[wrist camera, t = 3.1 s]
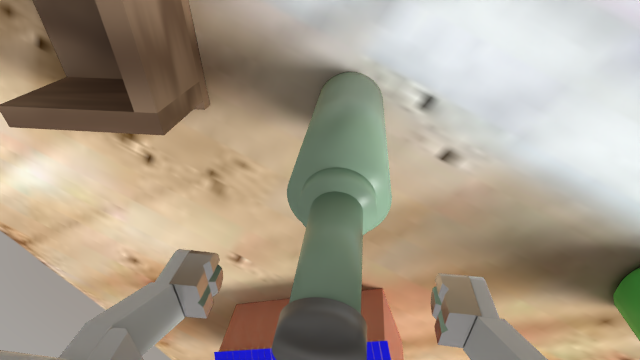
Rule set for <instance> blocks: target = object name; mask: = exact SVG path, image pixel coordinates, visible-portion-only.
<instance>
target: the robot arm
mask: <svg viewBox="0 0 640 360" xmlns="http://www.w3.org/2000/svg"><path fill="white" fill-rule="evenodd" d="M219 261H220V259H219V255H218V254H217V253H210V252H201V251H193V250H183V249H178V250H177V251H176V252H175V253H174V254H173V256H172V257H171V259H170V260H169V262H168V263H167V265H166V266H165V268H164V269H163V271H162V272H161V274H160V275H159V277H158V278H157V280H156V281H155V283H149V284H147V285H146V286H144V287H143V288H141V289H139V290H138V291H136V292H135V293H133V294H131V295H130V296H128V297H127V298H125V299H123V300H122V301H120V302H119V303H117V304H115V305H114V306H112V307H111V308H109V309H107V310H106V311H104V312H103V313H101V314H99V315H98V316H96V317H94V318H93V319H91V320H90V321H88V322H87V323H85V325H84V326H83V327H82V329H81V330H80V331H79V332H78V334H77V335H76V336H75V337H74V339H73V340H72V341H71V343H70V344H69V345H68V346H67V348H66V349H65V350H64V351H63V353H62V354H61V355H60V357H59V358H55V357H48V356H40V355H33V354H25V353H17V352H9V351H3V350H0V360H143V358H142V356H143V355H144V354H145V353H146V352H147V351H148V350H149V349H150V348H152V347H153V346H154V345H155V344H156V343H157V342H158V341H159V340H161V339H162V338H163V337H164V336H165V335H166V334H167V333H168V332H170V331H171V330H172V329H173V328H174V327H175V326H176V325H177V324H179V323H180V322H181V321H182V320H183V319H184V318H185V317H195V318H207V317H208V315H209V312H210V310H211V308H212V306H213V304H214V302H213V298H212V297H213V296H215V295H216V294H217V293H219V290H220V288H221V285H222V280H223V271H222V268H221V267H220V266H219V265H218V263H219ZM435 282H436V287H434V288H433V289H432V293H431V310H432V315H433V316H434V317H435V319H436V323H435V326H434V327H435V332H436V337H437V343H438V345H444V346H451V347H459V348H464V349H463V350H464V351H465V353H466V354H467V355H468V357H469V358H470V359H471V360H547V359H546V358H545V357H544V356H543V355H542V354H541V353H540V352H539V351H538V350H537V349H536V348H535V347H534V346H532V345H531V344H530V343H529V342H528V341H527V340H526V339H525V338H524V337H523V336H522V335H521V334H520V333H519V332H518V331H516V330H515V329H514V328H513V327H512V326H511V325H510V324H509V323H508V322H507V321H506V320H505V319H500V318H499V315H498V313H497V310H496V308H495V305H494V302H493V300H492V297H491V294H490V292H489V289H488V286H487V284H486V281H485V279H484V278H483V277H475V276H466V275H453V274H441V273H438V274H437V276H436V279H435Z"/></svg>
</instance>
